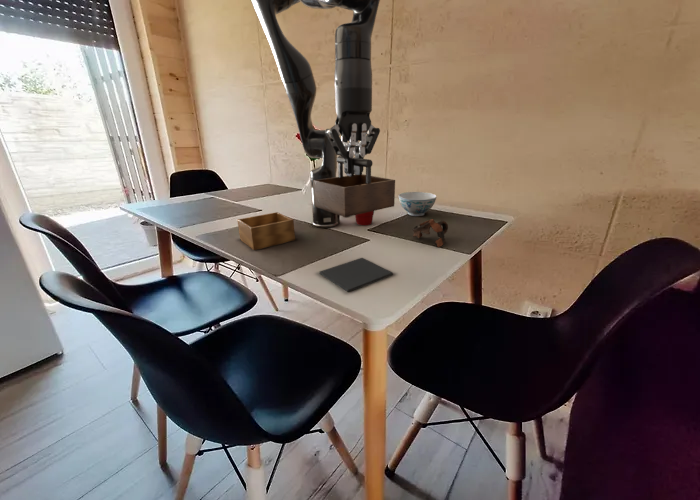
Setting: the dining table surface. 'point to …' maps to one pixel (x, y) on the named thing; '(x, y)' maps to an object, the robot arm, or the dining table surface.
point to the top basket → (354, 191)
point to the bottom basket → (266, 230)
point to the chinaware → (417, 202)
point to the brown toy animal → (436, 227)
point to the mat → (355, 274)
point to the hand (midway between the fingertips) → (354, 175)
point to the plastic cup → (364, 218)
